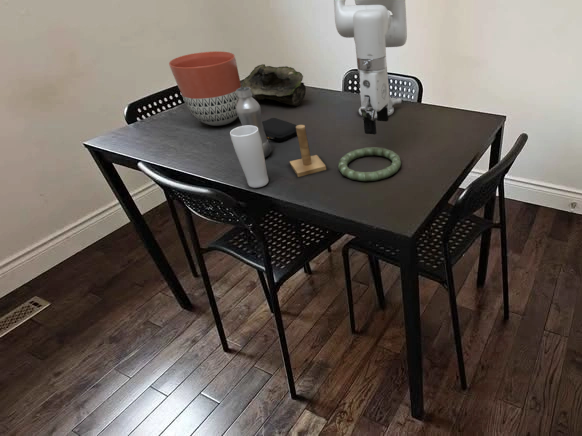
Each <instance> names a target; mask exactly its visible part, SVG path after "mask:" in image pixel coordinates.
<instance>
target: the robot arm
mask: <svg viewBox="0 0 582 436" xmlns="http://www.w3.org/2000/svg"><path fill="white" fill-rule="evenodd" d="M346 1H347V0H333V10H334V24H335V28H336V31H337V33H338V34H339V35H340V36H341V37H342V38H347V39H351V38H353V41H354V46H355V56H356V65H357V66H356V67H357V72H358V73H359V92H360V104H361V106H360V107H359V109H358V114H359V116H361V117H362V120H363V130H364V134H366V135H377V123H376V120H377V121H379V122H388V121H389V117H390V116H392V115H393V114H394V112H395V108H394V106H395V105H401V104H402V103H403V101H402V98H401V97H398V98H396V97H391V96H390V85H389V77H388V63H387V62H388V61H387V49H386V48H398V47H402V46H404V45H406V43H407V40H408V39H407V38H408V25H407V6H406V0H354V3H355V4H354V5H353V4H352V5H346Z"/></svg>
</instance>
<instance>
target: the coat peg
mask: <svg viewBox="0 0 582 436" xmlns="http://www.w3.org/2000/svg"><path fill="white" fill-rule="evenodd" d="M296 125H297V124H296ZM296 131H297V135H296V136H297V141H298V146H299V150H300V151H299V152H300V156H301V158H299V159H294V160H290V161H289V165H290V167H291V168H292V170H293V172H294V173H295V174H296V176H297V178H301V177H304V176H308V175H311V174H316V173H320V172H323V171H327V165H326V164H325V163H324V162H323V160H322V159H321V158H320V157H319V155H318V154H315V155H311V151H310V146H309V140H308V135H307V130H306V125H305V124H298V125H297V126H296Z"/></svg>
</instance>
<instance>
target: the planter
mask: <svg viewBox="0 0 582 436" xmlns="http://www.w3.org/2000/svg"><path fill="white" fill-rule="evenodd" d="M168 65H169V68H170V71H171V73H172V76H173V77H174V80H175V83H176V85H177V87H178V90H179V92H180V95H181V97H182V100H183V102H184V104H185V106H186V108H187V109H188V111H189V112H190V113H191V114H192V116H193V117H194V118H195V119H197V120H198V121H199V122H201V123H203V124H205V125H208V126H213V127H221V126H226V125H229V124H231V123H234V121H236V120H237V118H239V117H238V114H237V112H236V105H237V102H238V100H239V98H238V97H237V92H236V90H237V89H238V88H242V84H241V78H240V73H239V69H238V63H237V59H236V56H235V54H234V53H232V52H229V51H219V50H218V51H217V50H216V51H215V50H214V51H201V52H194V53H187V54H184V55H180V56H177V57H175V58H173V59H171V60H170V61H169V62H168Z"/></svg>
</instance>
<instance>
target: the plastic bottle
mask: <svg viewBox="0 0 582 436" xmlns="http://www.w3.org/2000/svg"><path fill="white" fill-rule="evenodd" d="M236 92H237V97H238V98H239V100H238V102H237V105H236V112H237V114H238V117H237V118H238V119H239V121H240V123H241V126H246V125H252V126H256V127H257V128H258V130H259V133H260V136H261V140H262V145H263V150H264V157H265V158H267V157H269V156H270V154H271V151H272V149H271V148H272V147H271V143H270V142H269V139H268V138H267V137H266V134H265V132H264V128H263V123H262V122H263V119H262V109H261V105H260V103H259V102H258V101H257V100H256V99H255V98H254V97H253V94H252V93H251V89H250V88H249V87H243V86H241V88H238V89H237V90H236Z"/></svg>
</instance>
